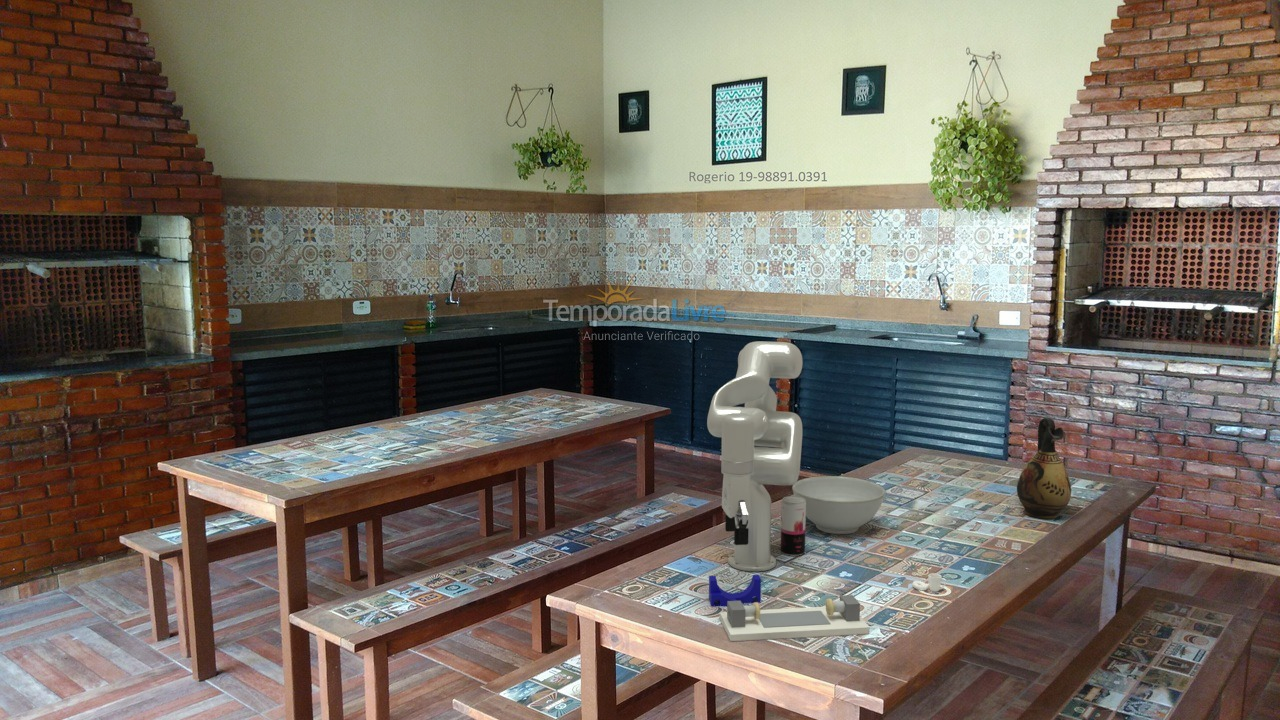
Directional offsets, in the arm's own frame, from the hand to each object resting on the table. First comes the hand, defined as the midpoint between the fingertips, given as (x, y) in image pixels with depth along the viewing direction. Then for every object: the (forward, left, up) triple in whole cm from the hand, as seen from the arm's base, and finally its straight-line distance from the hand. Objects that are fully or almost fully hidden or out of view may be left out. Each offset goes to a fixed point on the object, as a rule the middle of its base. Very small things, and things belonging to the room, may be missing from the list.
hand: (736, 537), depth 219 cm
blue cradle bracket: (-1, 0, -17) cm, 17 cm away
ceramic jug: (-56, +109, -17) cm, 124 cm away
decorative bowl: (-51, +42, -17) cm, 68 cm away
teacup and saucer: (-5, +50, -17) cm, 53 cm away
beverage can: (-32, +23, -16) cm, 43 cm away
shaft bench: (+14, +10, -16) cm, 24 cm away
